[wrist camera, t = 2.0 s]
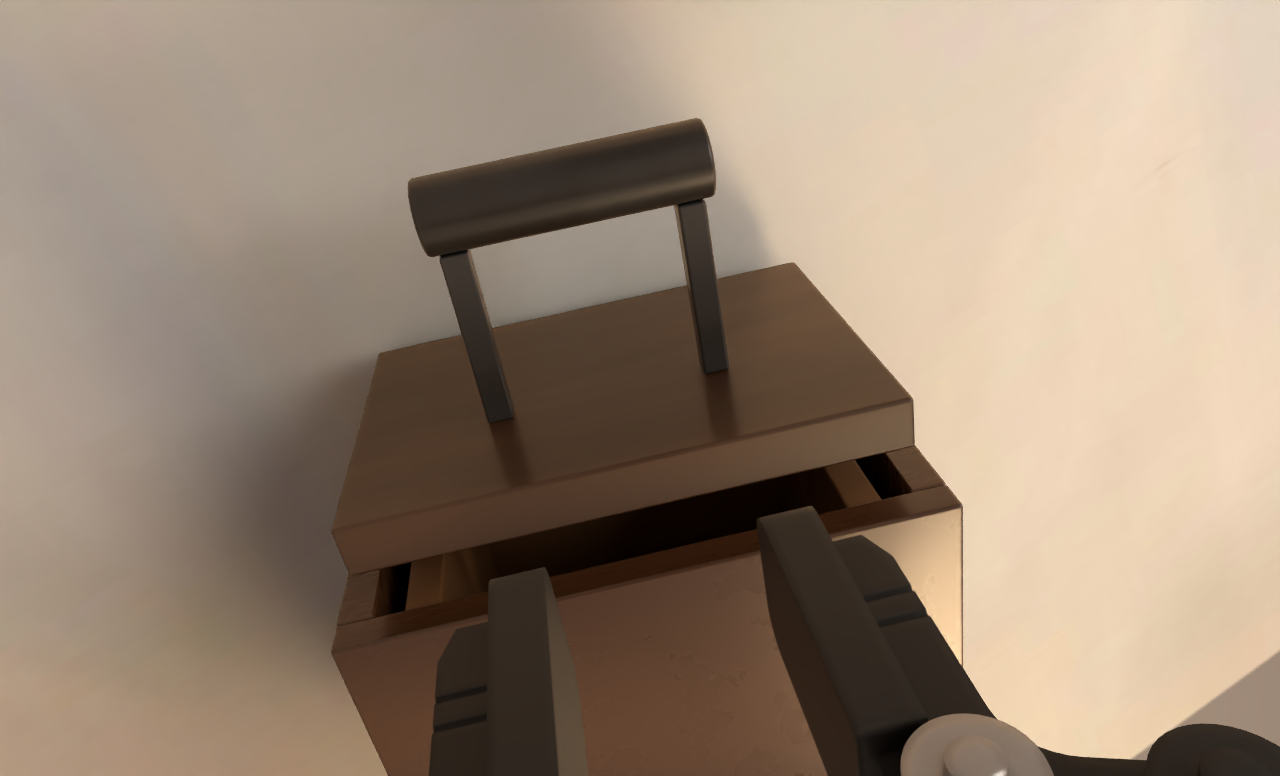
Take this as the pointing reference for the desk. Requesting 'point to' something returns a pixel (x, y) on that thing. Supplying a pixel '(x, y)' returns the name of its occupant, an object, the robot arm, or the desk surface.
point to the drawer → (604, 390)
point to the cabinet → (659, 642)
